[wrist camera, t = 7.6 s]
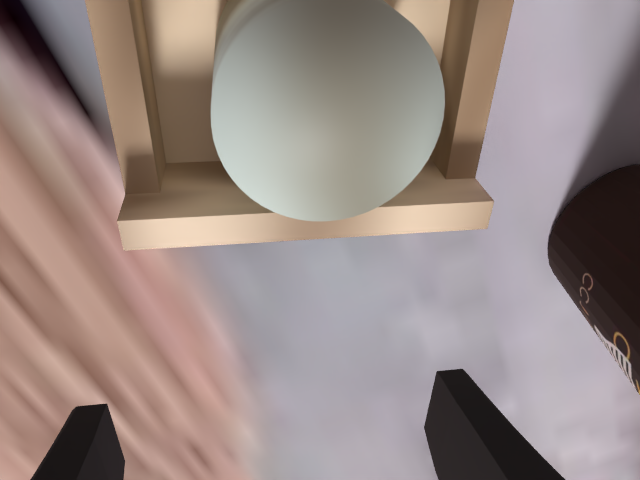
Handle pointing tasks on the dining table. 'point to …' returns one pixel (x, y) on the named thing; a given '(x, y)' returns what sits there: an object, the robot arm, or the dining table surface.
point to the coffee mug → (604, 262)
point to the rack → (297, 116)
